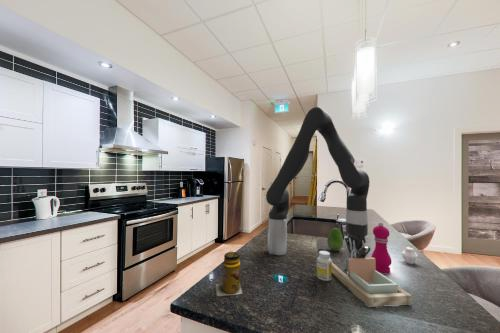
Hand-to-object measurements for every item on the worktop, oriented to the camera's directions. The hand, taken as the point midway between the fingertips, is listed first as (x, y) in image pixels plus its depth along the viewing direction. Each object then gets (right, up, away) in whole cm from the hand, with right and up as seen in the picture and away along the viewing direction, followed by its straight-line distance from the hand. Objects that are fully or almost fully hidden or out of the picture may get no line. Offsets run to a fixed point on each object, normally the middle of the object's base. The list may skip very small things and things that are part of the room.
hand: (356, 266), depth 80 cm
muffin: (+32, -6, +15) cm, 36 cm away
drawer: (+1, -4, -9) cm, 10 cm away
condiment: (-49, -4, -9) cm, 50 cm away
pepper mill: (+14, -5, +7) cm, 17 cm away
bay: (0, -4, -4) cm, 6 cm away
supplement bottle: (-12, -5, 0) cm, 13 cm away
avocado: (+4, -6, +29) cm, 30 cm away
